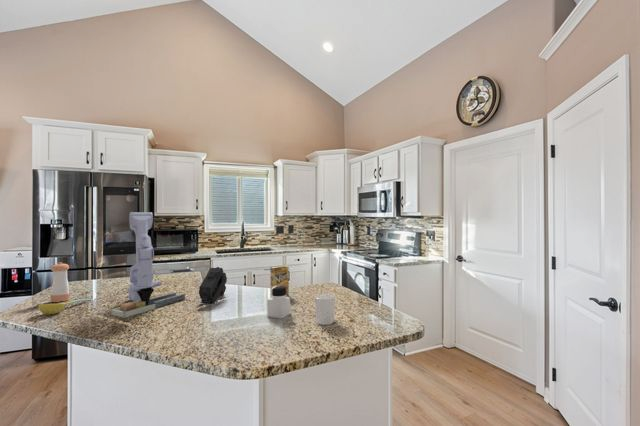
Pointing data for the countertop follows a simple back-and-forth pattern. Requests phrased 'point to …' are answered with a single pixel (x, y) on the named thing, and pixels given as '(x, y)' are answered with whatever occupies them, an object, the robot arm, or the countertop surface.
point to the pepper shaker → (60, 283)
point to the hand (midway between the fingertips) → (145, 305)
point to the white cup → (324, 308)
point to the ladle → (55, 307)
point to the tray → (132, 312)
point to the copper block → (127, 307)
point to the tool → (213, 285)
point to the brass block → (139, 303)
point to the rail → (166, 299)
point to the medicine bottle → (278, 303)
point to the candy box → (280, 277)
